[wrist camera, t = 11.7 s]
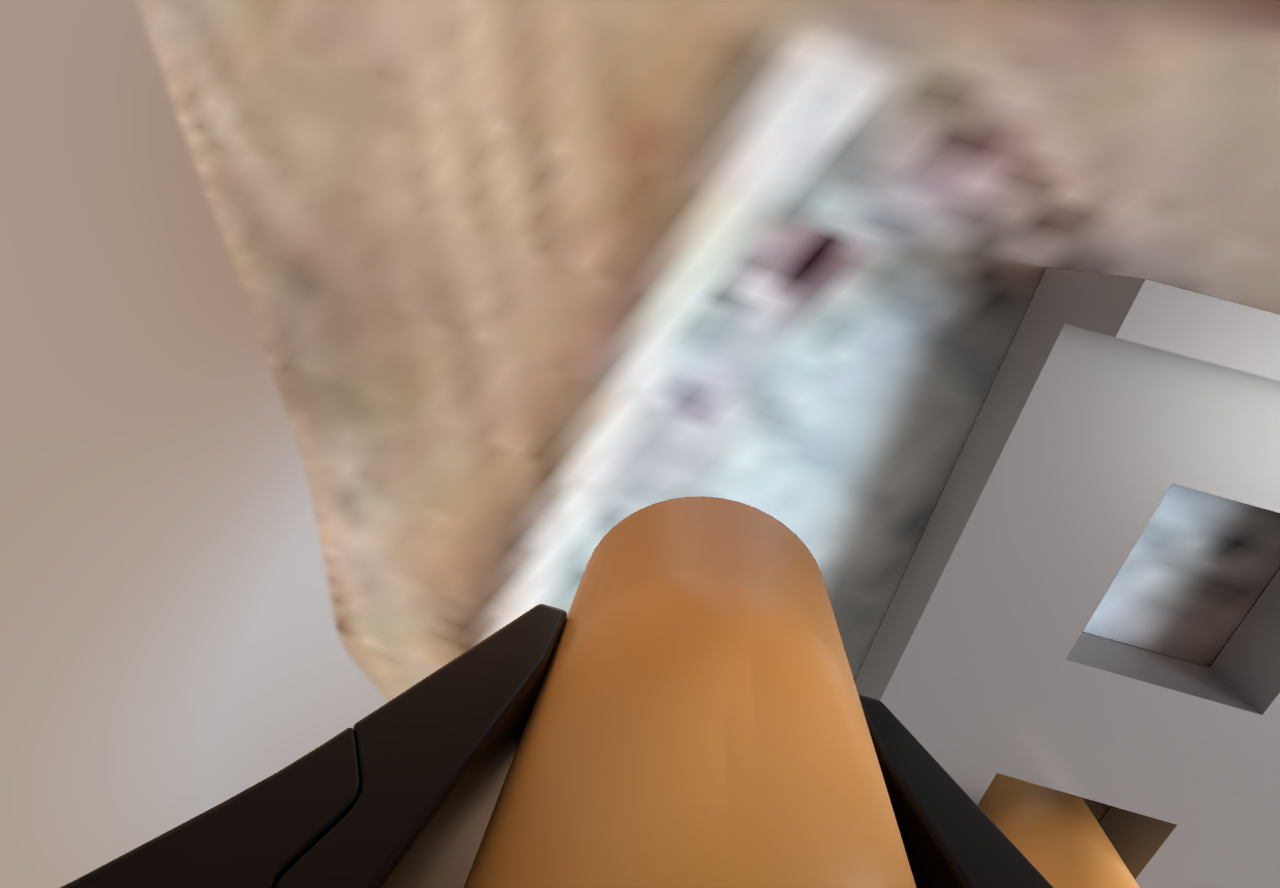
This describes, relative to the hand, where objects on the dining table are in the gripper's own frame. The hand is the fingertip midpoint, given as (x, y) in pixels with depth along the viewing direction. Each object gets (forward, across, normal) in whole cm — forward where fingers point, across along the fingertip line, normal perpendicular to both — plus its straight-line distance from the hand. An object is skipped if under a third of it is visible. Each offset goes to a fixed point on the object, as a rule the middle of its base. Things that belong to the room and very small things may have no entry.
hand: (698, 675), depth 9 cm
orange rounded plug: (+2, 0, 0) cm, 2 cm away
